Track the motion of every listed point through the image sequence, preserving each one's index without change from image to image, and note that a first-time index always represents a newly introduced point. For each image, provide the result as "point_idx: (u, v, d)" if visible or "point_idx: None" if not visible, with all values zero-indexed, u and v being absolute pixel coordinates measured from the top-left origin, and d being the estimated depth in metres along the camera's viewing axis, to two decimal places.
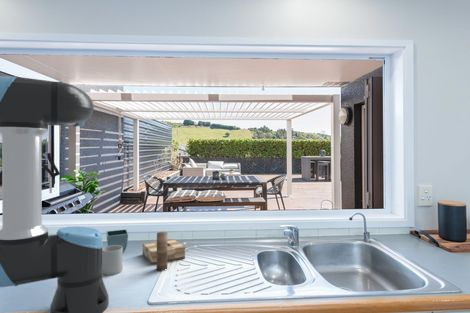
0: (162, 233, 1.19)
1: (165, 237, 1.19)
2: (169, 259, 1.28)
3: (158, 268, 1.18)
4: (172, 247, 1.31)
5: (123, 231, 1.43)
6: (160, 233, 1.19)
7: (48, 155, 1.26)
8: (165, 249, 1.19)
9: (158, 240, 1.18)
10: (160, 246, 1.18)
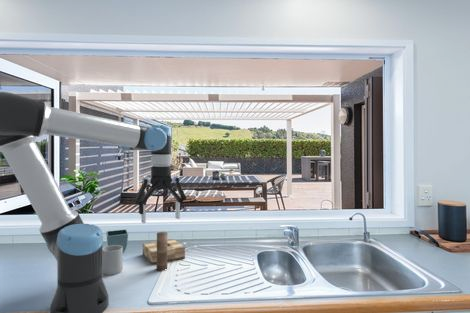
0: (162, 233, 1.19)
1: (165, 237, 1.19)
2: (169, 259, 1.28)
3: (158, 268, 1.18)
4: (172, 247, 1.31)
5: (123, 231, 1.43)
6: (160, 233, 1.19)
7: (177, 180, 1.22)
8: (165, 249, 1.19)
9: (158, 240, 1.18)
10: (160, 246, 1.18)
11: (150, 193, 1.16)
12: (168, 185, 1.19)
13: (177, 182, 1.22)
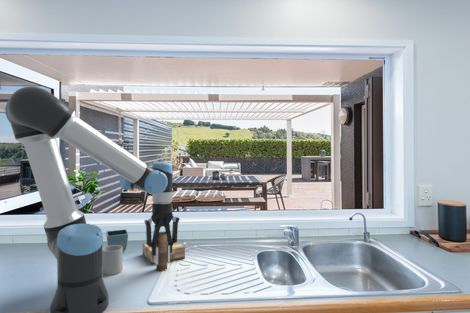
0: (162, 233, 1.19)
1: (165, 237, 1.19)
2: None
3: (158, 268, 1.18)
4: (172, 247, 1.31)
5: (123, 231, 1.43)
6: (160, 233, 1.19)
7: (177, 220, 1.22)
8: (165, 249, 1.19)
9: (158, 240, 1.18)
10: (160, 245, 1.18)
11: (157, 233, 1.17)
12: (167, 223, 1.19)
13: (176, 222, 1.21)
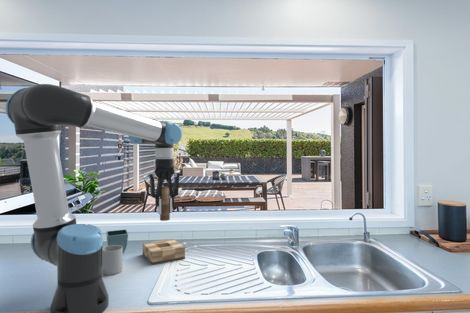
0: (164, 187, 1.31)
1: (167, 190, 1.30)
2: (169, 259, 1.28)
3: (161, 218, 1.30)
4: (172, 247, 1.31)
5: (123, 231, 1.43)
6: None
7: (178, 175, 1.33)
8: (167, 201, 1.30)
9: (161, 193, 1.29)
10: (163, 198, 1.29)
11: (160, 185, 1.29)
12: (169, 177, 1.30)
13: (177, 177, 1.33)
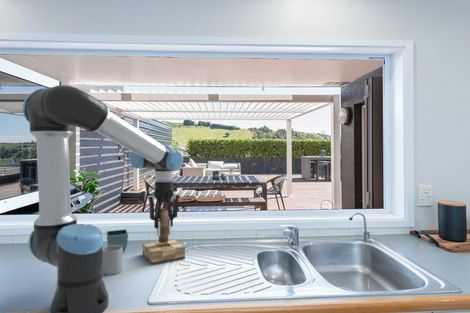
0: (164, 209, 1.33)
1: (166, 213, 1.32)
2: (169, 259, 1.28)
3: (160, 240, 1.32)
4: (172, 247, 1.31)
5: (123, 231, 1.43)
6: (162, 209, 1.33)
7: (177, 197, 1.35)
8: (166, 223, 1.32)
9: (160, 215, 1.32)
10: (162, 220, 1.31)
11: (159, 208, 1.31)
12: (168, 199, 1.33)
13: (176, 199, 1.35)
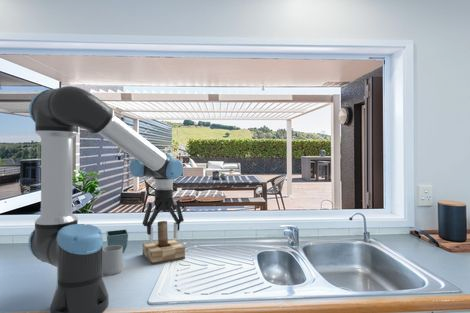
0: (162, 222, 1.33)
1: (165, 225, 1.32)
2: (169, 259, 1.28)
3: None
4: (172, 247, 1.31)
5: (123, 231, 1.43)
6: (160, 222, 1.33)
7: (177, 202, 1.35)
8: (165, 236, 1.32)
9: (159, 228, 1.32)
10: (161, 233, 1.31)
11: (155, 215, 1.30)
12: (169, 206, 1.33)
13: (178, 204, 1.35)
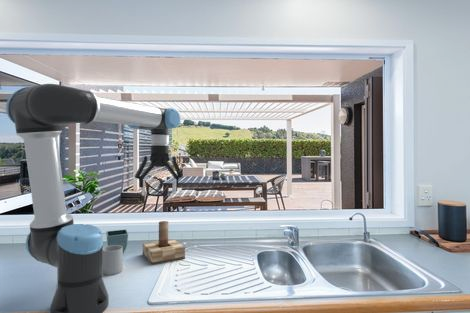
0: (163, 222, 1.33)
1: (166, 226, 1.32)
2: (169, 259, 1.28)
3: None
4: (172, 247, 1.31)
5: (123, 231, 1.43)
6: (162, 222, 1.33)
7: (174, 158, 1.35)
8: (166, 236, 1.32)
9: (160, 228, 1.32)
10: (162, 233, 1.31)
11: (149, 169, 1.30)
12: (166, 163, 1.33)
13: (174, 160, 1.35)
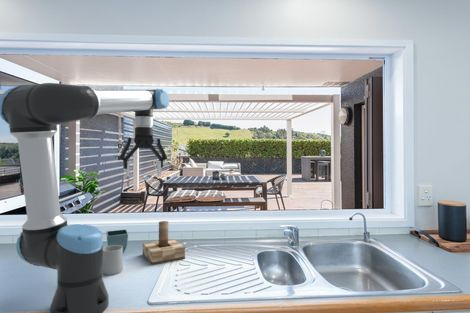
0: (163, 222, 1.33)
1: (166, 226, 1.32)
2: (169, 259, 1.28)
3: None
4: (172, 247, 1.31)
5: (123, 231, 1.43)
6: (162, 222, 1.33)
7: (158, 140, 1.36)
8: (166, 236, 1.32)
9: (160, 228, 1.32)
10: (162, 233, 1.31)
11: (133, 150, 1.31)
12: (150, 144, 1.34)
13: (158, 142, 1.36)
